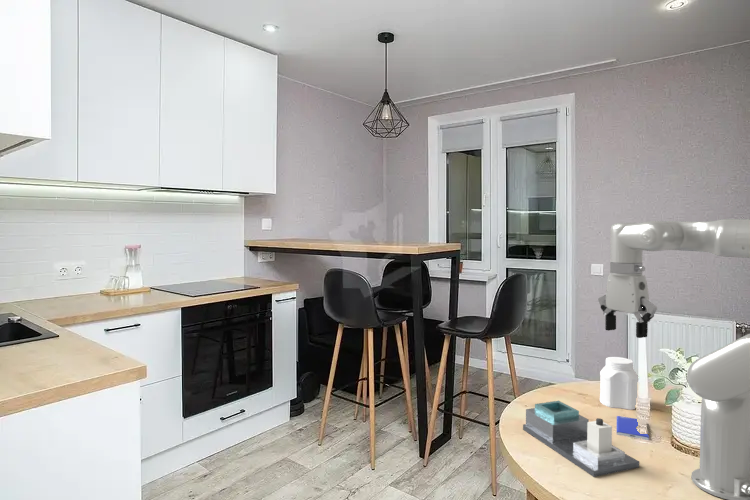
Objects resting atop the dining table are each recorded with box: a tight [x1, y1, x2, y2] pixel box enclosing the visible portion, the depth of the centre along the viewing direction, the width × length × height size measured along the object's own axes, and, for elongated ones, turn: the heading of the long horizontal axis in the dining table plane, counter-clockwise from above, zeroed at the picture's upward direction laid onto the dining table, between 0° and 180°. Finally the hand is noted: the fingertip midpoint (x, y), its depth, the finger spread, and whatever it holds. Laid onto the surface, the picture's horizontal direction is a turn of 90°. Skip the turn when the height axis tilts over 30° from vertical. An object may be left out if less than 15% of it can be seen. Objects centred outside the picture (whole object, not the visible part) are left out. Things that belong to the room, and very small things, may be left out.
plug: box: [587, 418, 613, 454], centre depth 119 cm, size 4×4×9 cm
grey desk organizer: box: [522, 400, 640, 478], centre depth 127 cm, size 28×14×8 cm, turn 18°
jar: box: [599, 356, 639, 411], centre depth 157 cm, size 12×10×15 cm
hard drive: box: [616, 415, 650, 441], centre depth 138 cm, size 2×8×12 cm
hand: (625, 333), depth 124 cm, fingers open, 9 cm apart
